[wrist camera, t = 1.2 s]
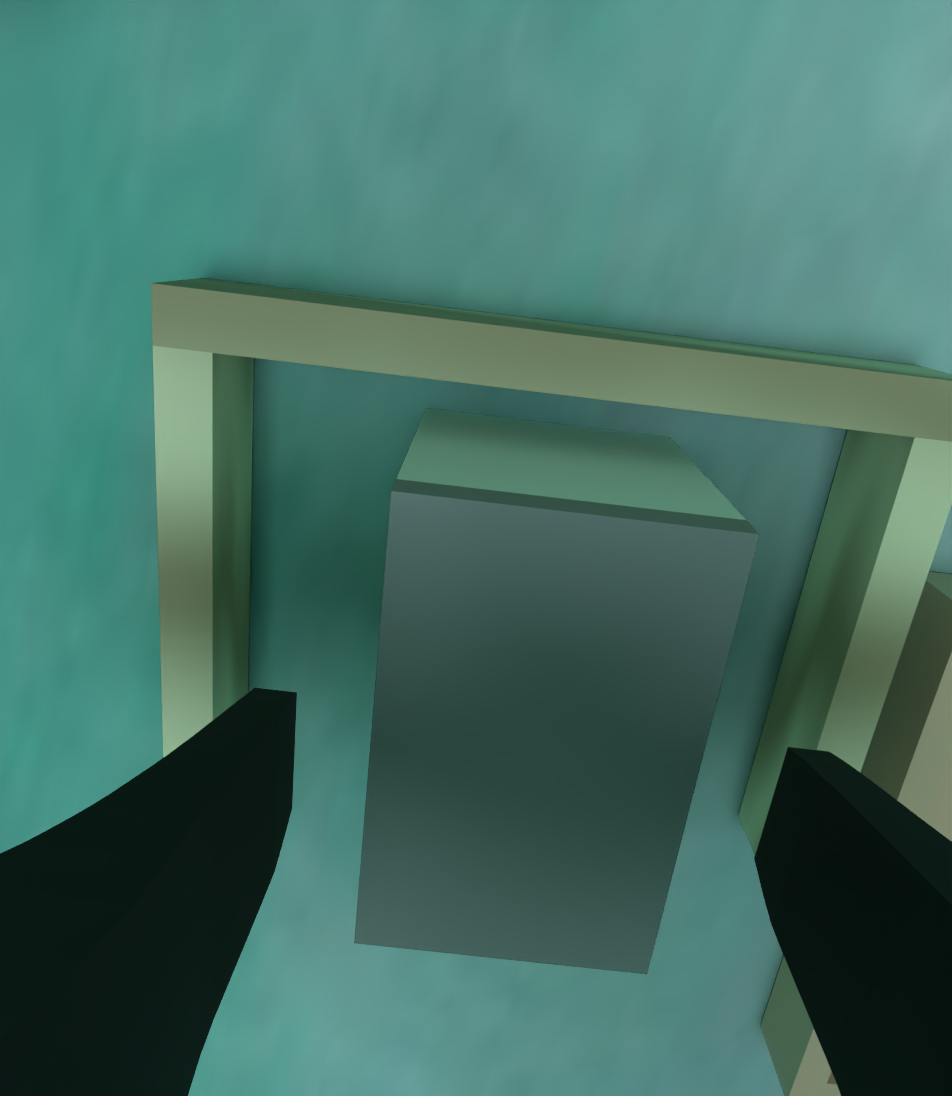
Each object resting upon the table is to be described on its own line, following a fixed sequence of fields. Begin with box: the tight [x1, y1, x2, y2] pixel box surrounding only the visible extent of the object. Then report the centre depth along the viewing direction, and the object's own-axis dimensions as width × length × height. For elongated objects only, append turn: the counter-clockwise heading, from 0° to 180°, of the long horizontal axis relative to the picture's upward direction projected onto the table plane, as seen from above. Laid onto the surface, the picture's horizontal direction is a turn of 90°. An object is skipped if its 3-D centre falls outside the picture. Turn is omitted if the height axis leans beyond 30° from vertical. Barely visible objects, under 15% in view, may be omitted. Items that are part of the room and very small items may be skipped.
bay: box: [151, 278, 952, 854], centre depth 16 cm, size 11×14×2 cm
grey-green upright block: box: [354, 408, 760, 974], centre depth 15 cm, size 8×5×6 cm, turn 173°
